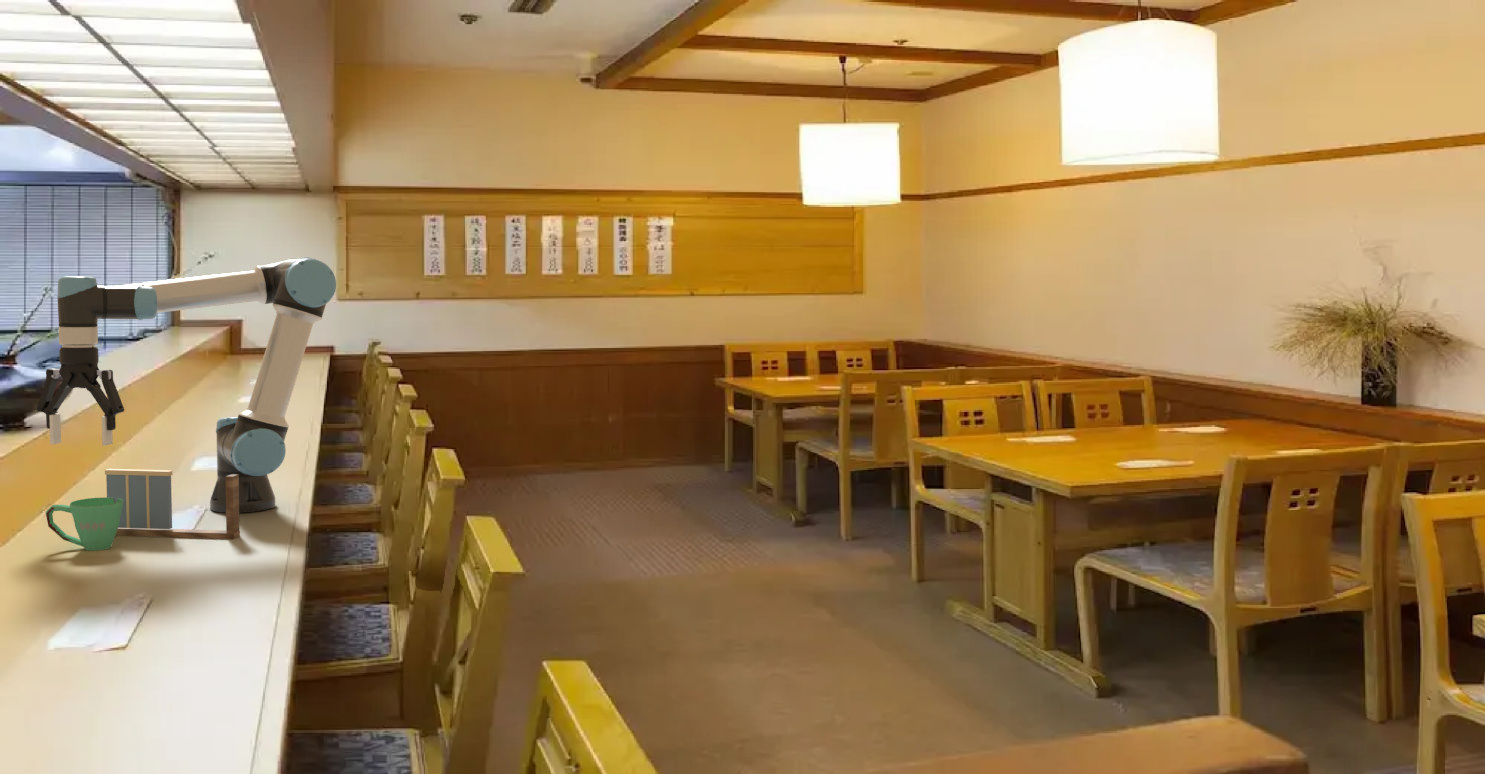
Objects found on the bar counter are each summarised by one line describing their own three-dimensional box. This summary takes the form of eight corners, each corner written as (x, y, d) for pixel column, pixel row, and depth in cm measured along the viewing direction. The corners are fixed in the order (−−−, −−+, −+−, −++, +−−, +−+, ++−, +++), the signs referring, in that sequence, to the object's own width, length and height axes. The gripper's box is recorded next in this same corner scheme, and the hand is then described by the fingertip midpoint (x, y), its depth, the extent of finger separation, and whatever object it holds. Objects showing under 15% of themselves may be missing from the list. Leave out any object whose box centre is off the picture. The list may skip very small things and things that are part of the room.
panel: (173, 527, 260) (172, 470, 259) (169, 529, 258) (168, 471, 257) (110, 526, 260) (108, 468, 259) (106, 527, 259) (104, 470, 258)
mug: (129, 542, 252) (128, 496, 251) (116, 552, 243) (115, 505, 242) (54, 544, 249) (53, 498, 248) (38, 554, 239) (37, 507, 238)
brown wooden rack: (239, 536, 260) (238, 474, 259) (234, 538, 258) (233, 476, 256) (104, 532, 261) (102, 470, 260) (97, 535, 258) (95, 472, 257)
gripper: (140, 346, 260) (142, 443, 262) (37, 343, 261) (40, 440, 263) (121, 348, 253) (123, 447, 255) (15, 345, 254) (19, 445, 255)
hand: (81, 444), depth 259 cm, fingers open, 11 cm apart
